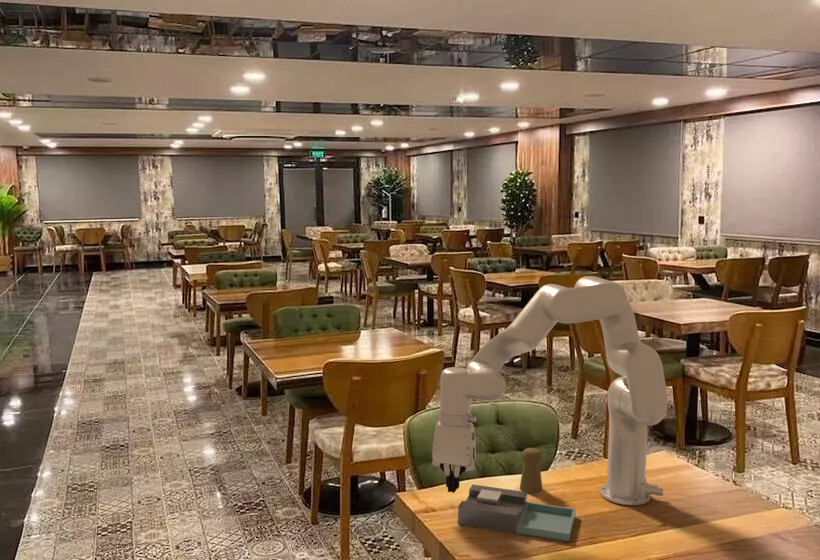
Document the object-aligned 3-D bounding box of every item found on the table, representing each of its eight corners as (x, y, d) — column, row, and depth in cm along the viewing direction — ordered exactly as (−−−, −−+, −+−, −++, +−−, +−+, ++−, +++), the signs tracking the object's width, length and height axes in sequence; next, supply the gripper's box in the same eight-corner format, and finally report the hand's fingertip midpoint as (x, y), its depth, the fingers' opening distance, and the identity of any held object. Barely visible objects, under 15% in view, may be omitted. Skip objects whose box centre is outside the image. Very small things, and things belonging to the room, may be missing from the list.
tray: (575, 516, 178) (575, 508, 178) (568, 542, 165) (569, 534, 165) (526, 509, 182) (526, 501, 182) (516, 533, 169) (516, 525, 168)
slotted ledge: (526, 509, 182) (527, 492, 181) (516, 533, 169) (516, 515, 168) (472, 501, 186) (472, 484, 186) (457, 524, 173) (458, 506, 172)
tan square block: (501, 501, 179) (501, 492, 179) (497, 510, 174) (497, 500, 174) (481, 498, 181) (481, 489, 180) (476, 507, 176) (477, 497, 176)
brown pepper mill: (542, 494, 191) (543, 454, 189) (519, 492, 192) (520, 452, 191) (542, 485, 197) (544, 446, 195) (520, 483, 198) (521, 444, 197)
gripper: (488, 417, 179) (485, 489, 181) (430, 410, 184) (428, 480, 186) (481, 426, 172) (478, 501, 174) (421, 419, 177) (419, 491, 179)
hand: (452, 490), depth 180 cm, fingers closed
